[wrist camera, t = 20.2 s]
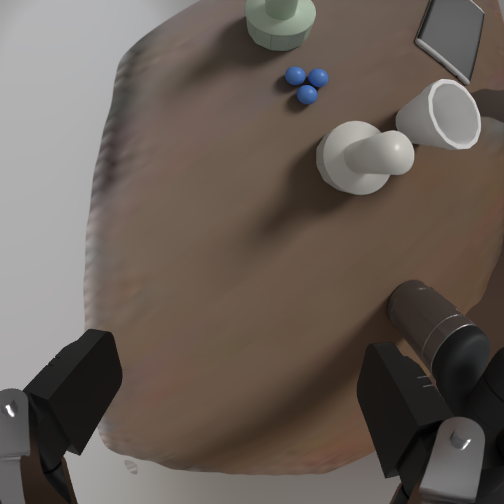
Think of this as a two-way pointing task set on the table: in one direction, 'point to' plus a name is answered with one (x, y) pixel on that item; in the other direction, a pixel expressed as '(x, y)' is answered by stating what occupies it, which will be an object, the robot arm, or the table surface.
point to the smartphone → (452, 35)
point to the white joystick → (362, 157)
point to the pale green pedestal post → (279, 22)
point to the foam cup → (441, 117)
